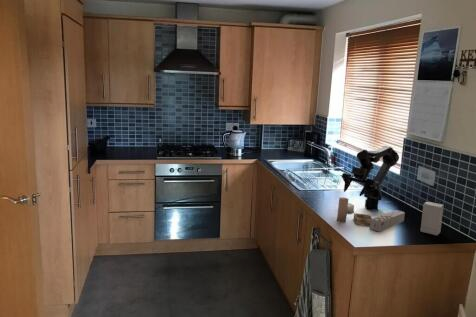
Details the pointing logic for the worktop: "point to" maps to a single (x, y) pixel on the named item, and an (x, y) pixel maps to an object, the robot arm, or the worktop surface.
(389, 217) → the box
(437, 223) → the skincare box
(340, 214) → the brown dome-top cylinder
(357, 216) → the tray
